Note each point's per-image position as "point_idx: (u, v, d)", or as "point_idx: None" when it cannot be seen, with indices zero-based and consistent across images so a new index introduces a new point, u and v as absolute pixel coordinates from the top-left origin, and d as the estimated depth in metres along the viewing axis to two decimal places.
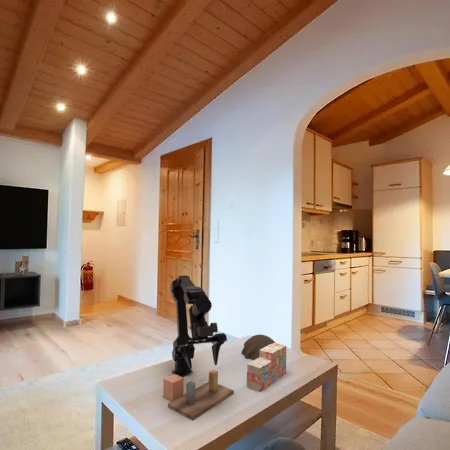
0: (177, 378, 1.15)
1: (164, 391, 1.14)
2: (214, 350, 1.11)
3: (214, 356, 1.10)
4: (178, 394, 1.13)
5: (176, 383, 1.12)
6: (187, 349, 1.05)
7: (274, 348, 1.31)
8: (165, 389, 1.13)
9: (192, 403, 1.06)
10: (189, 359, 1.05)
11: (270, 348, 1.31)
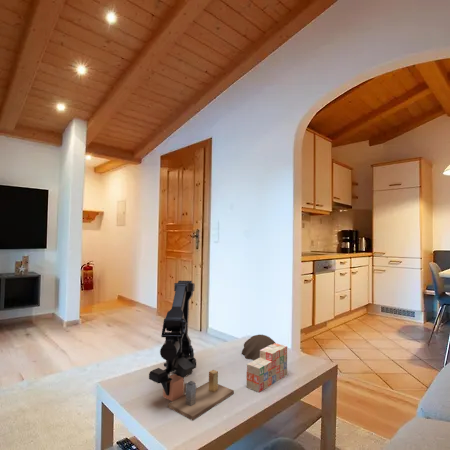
0: (177, 378, 1.15)
1: (164, 391, 1.14)
2: None
3: None
4: (178, 394, 1.13)
5: (176, 383, 1.12)
6: (169, 381, 1.10)
7: (275, 348, 1.31)
8: None
9: (192, 403, 1.06)
10: (168, 388, 1.11)
11: (270, 348, 1.31)
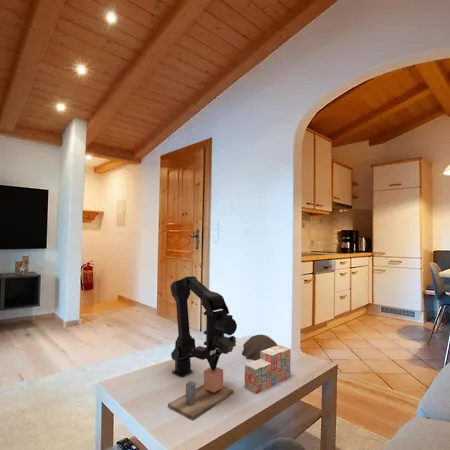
0: (217, 370, 1.17)
1: (204, 383, 1.16)
2: None
3: None
4: (218, 385, 1.15)
5: (216, 375, 1.15)
6: (215, 356, 1.15)
7: (276, 350, 1.28)
8: (206, 380, 1.16)
9: (192, 403, 1.06)
10: (214, 364, 1.16)
11: (272, 350, 1.29)
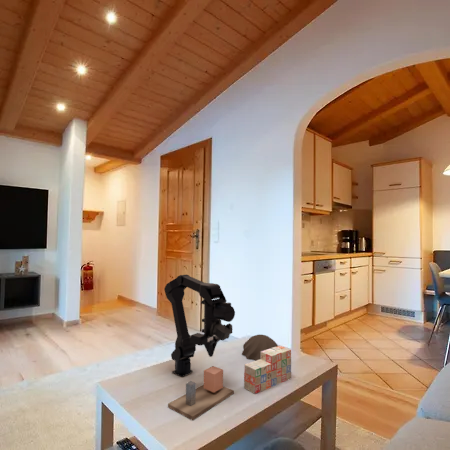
0: (217, 370, 1.17)
1: (204, 383, 1.16)
2: None
3: None
4: (218, 385, 1.15)
5: (216, 375, 1.15)
6: (212, 343, 1.20)
7: (276, 351, 1.28)
8: (206, 380, 1.16)
9: (192, 403, 1.06)
10: (211, 350, 1.21)
11: (272, 351, 1.28)
